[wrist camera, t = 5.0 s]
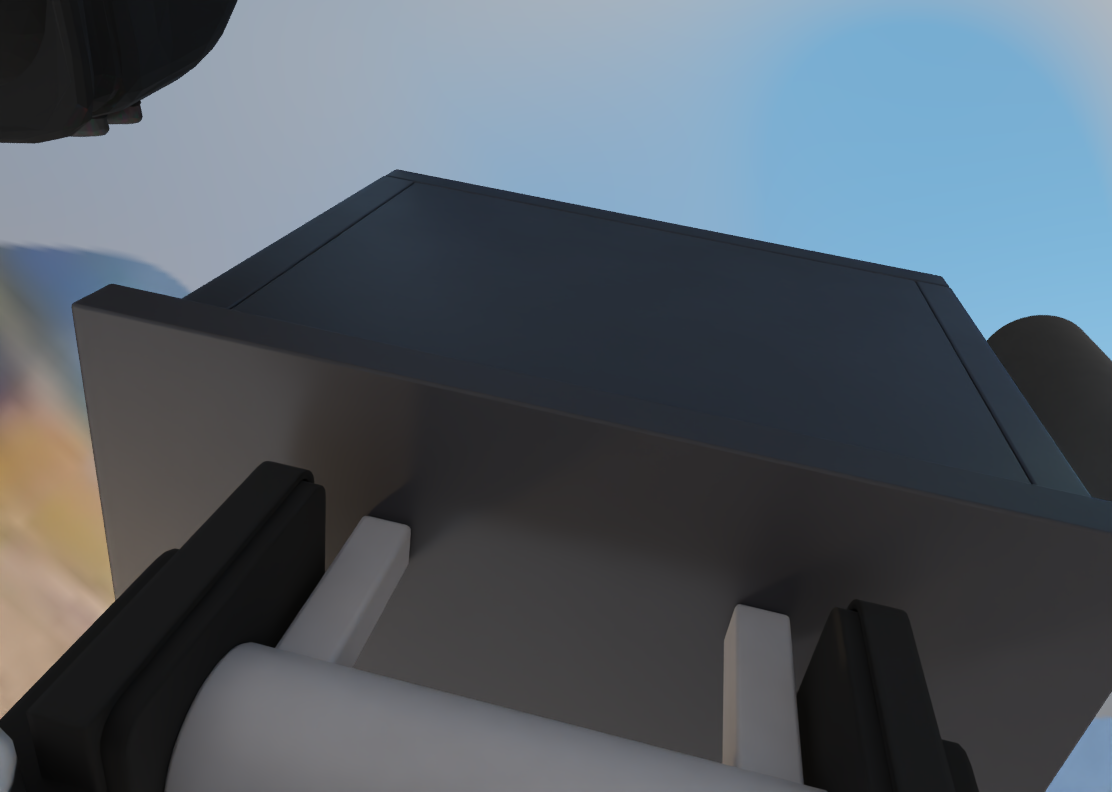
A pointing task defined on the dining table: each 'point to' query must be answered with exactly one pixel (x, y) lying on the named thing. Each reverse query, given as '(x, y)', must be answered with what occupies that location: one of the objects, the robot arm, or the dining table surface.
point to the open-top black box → (656, 318)
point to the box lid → (570, 570)
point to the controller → (95, 60)
